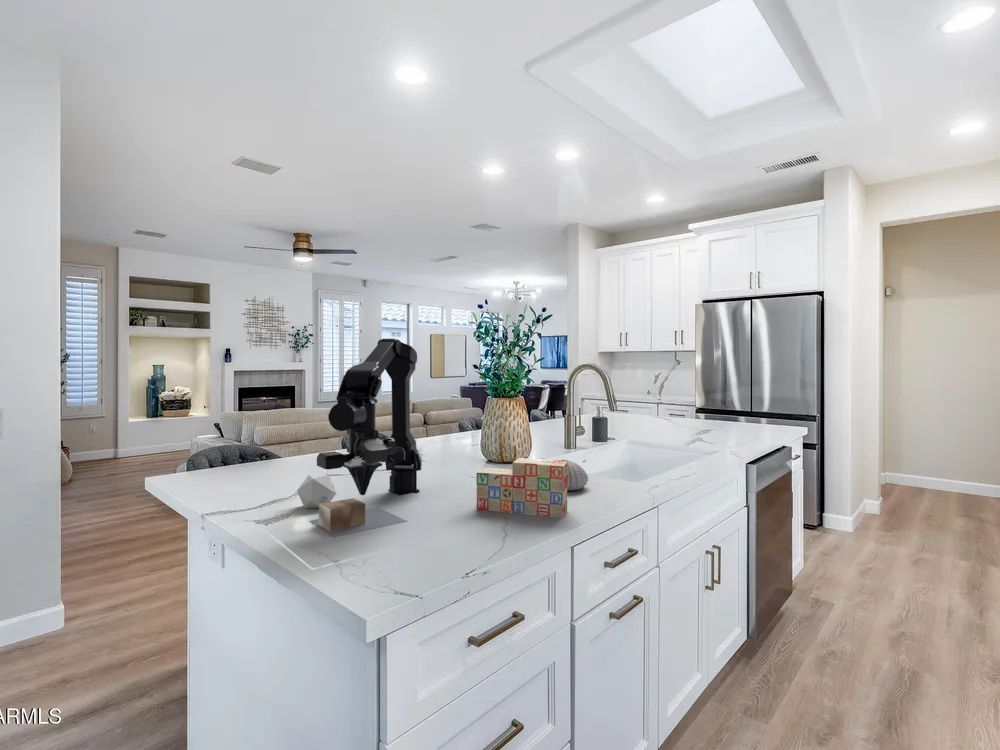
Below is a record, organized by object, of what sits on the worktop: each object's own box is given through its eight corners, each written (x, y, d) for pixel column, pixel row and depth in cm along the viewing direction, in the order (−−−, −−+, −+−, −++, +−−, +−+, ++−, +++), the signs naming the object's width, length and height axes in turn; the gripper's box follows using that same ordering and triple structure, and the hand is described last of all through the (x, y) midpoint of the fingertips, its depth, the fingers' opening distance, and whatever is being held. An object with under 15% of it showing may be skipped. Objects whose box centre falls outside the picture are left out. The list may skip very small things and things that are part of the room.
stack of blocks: (475, 510, 129) (475, 459, 128) (484, 503, 135) (484, 455, 134) (562, 518, 122) (563, 465, 122) (567, 511, 128) (568, 460, 128)
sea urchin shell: (534, 491, 147) (534, 462, 147) (547, 481, 160) (547, 454, 160) (582, 495, 143) (582, 466, 142) (591, 484, 155) (591, 457, 155)
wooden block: (353, 498, 120) (318, 504, 115) (365, 503, 116) (329, 510, 111) (353, 517, 121) (318, 524, 116) (365, 524, 116) (329, 531, 111)
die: (313, 517, 124) (338, 481, 127) (284, 497, 126) (310, 462, 129) (324, 519, 132) (347, 486, 135) (296, 501, 134) (320, 468, 136)
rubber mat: (378, 508, 129) (378, 507, 129) (407, 522, 118) (407, 521, 118) (308, 522, 118) (308, 520, 118) (333, 538, 107) (333, 537, 107)
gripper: (335, 432, 106) (336, 510, 106) (417, 425, 118) (417, 495, 118) (315, 427, 115) (316, 498, 115) (393, 421, 127) (393, 486, 127)
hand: (362, 494), depth 119 cm, fingers closed
